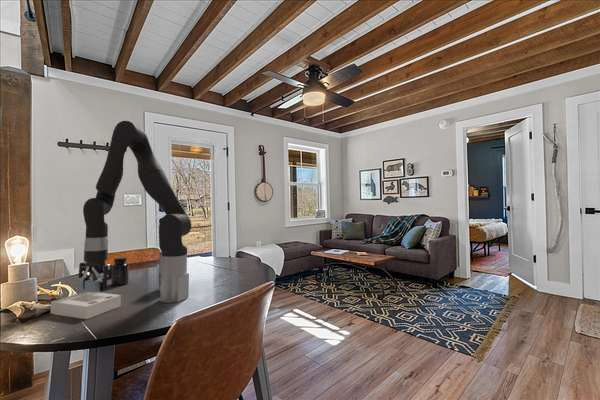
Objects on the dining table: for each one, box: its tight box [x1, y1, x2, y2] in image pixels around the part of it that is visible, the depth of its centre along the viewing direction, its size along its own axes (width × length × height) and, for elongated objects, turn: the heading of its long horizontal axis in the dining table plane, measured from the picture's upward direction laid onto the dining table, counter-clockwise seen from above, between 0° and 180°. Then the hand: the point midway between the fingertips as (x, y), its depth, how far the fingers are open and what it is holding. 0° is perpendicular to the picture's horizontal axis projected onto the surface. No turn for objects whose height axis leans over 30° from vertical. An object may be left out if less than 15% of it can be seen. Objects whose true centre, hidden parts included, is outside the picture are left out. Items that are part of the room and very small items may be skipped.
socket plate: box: [50, 291, 122, 320], centre depth 95 cm, size 16×12×4 cm
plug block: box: [84, 274, 106, 293], centre depth 107 cm, size 4×4×9 cm
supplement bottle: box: [110, 256, 130, 287], centre depth 127 cm, size 7×7×12 cm
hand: (94, 289), depth 107 cm, fingers open, 8 cm apart
